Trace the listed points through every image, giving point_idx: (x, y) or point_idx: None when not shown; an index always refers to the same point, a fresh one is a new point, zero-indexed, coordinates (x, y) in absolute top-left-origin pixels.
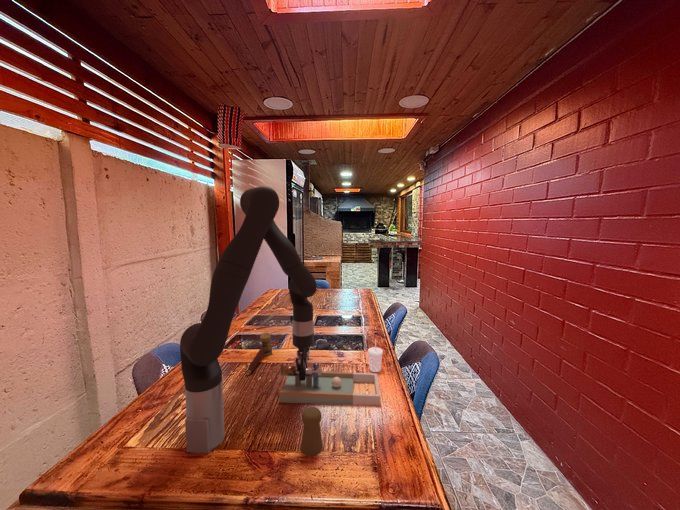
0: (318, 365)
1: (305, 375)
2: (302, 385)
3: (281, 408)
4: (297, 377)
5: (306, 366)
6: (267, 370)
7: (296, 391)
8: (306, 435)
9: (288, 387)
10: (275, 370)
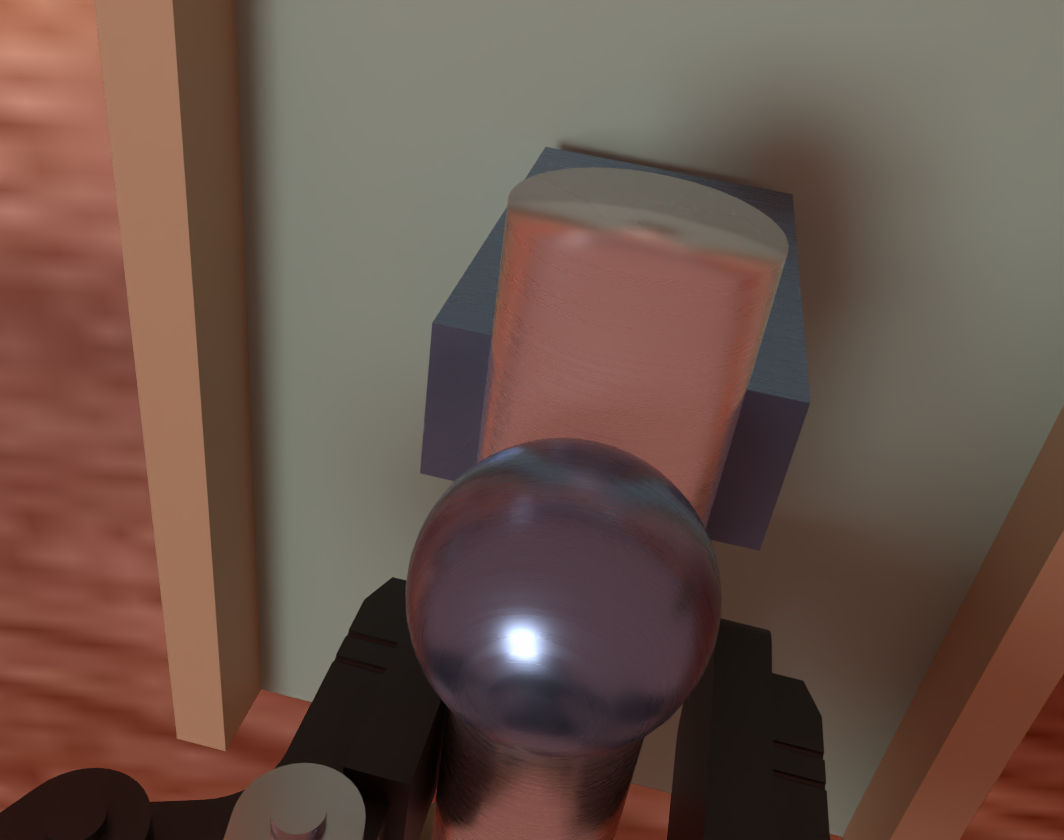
0: (643, 551)
1: (727, 705)
2: None
3: (1031, 735)
4: None
5: (414, 770)
6: None
7: (986, 707)
8: None
9: None
10: (49, 737)
